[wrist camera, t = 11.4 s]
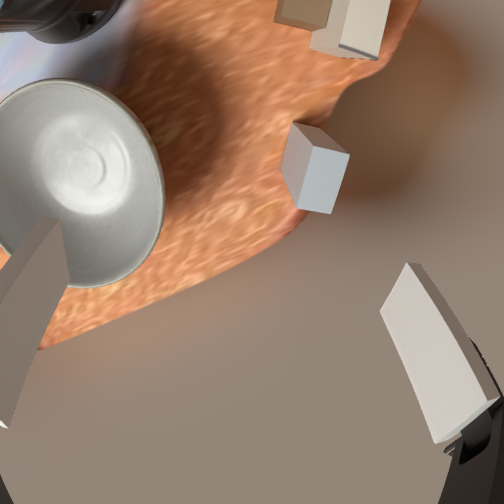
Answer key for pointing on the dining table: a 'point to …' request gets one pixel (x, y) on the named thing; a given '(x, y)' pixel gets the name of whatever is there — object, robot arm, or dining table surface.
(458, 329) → the robot arm
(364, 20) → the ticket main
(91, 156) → the decorative bowl
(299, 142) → the stub
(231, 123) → the dining table surface
